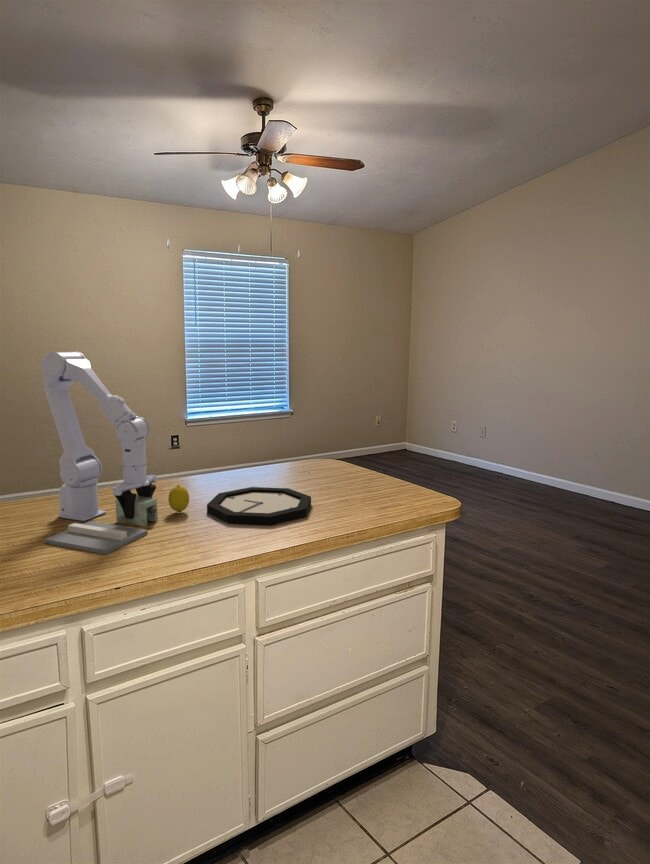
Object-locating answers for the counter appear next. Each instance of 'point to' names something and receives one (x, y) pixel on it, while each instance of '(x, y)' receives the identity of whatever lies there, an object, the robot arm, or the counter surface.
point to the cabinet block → (139, 511)
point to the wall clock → (259, 506)
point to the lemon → (178, 498)
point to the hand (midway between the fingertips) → (137, 515)
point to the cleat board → (96, 537)
